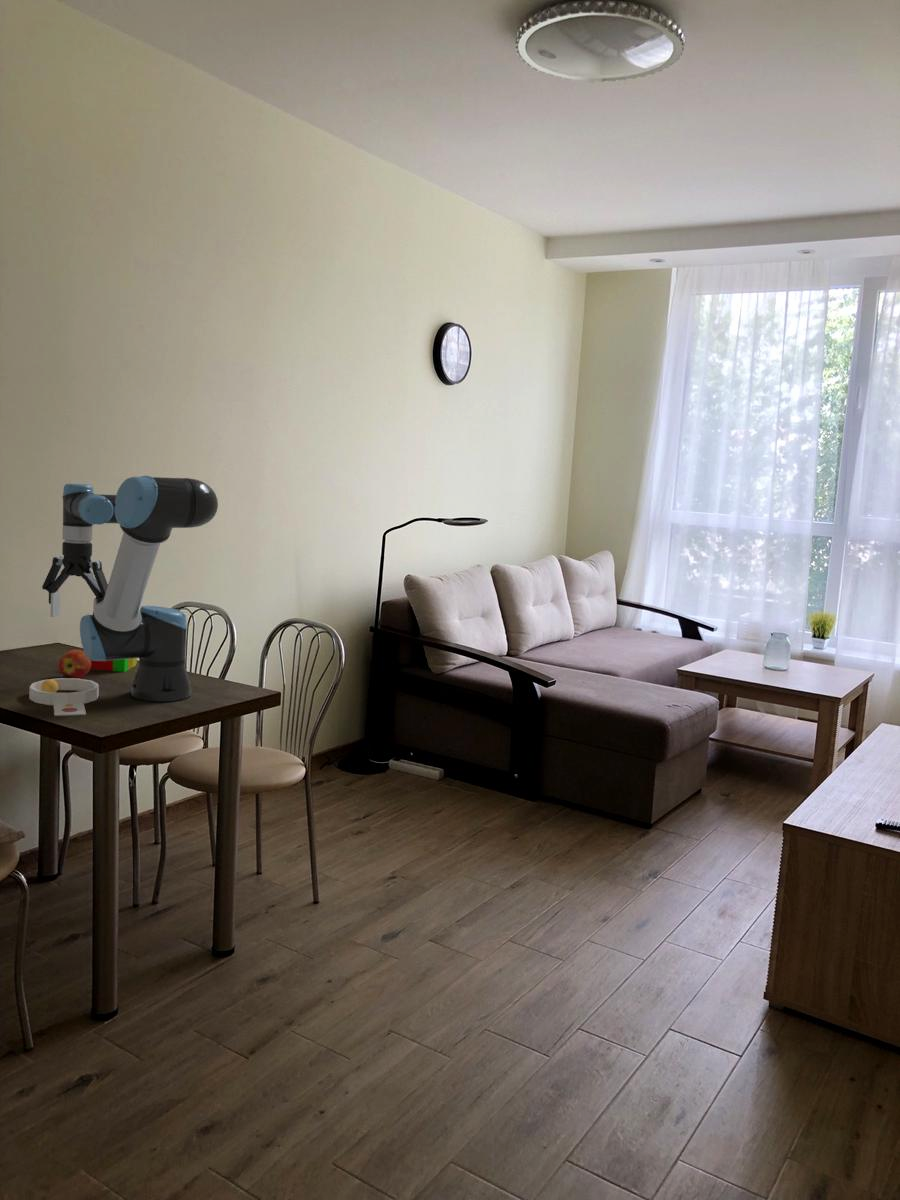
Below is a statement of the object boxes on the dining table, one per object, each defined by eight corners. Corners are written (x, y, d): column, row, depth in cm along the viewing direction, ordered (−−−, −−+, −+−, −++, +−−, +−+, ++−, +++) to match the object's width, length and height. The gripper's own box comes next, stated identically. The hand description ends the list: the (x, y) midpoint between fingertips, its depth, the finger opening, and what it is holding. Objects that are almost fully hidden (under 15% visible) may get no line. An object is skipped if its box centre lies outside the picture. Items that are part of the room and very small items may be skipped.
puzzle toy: (103, 662, 296) (103, 629, 294) (136, 664, 295) (137, 631, 294) (89, 669, 286) (90, 635, 284) (124, 672, 286) (125, 637, 284)
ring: (110, 694, 260) (111, 683, 259) (70, 708, 245) (70, 696, 244) (58, 686, 264) (59, 675, 264) (16, 699, 249) (16, 687, 249)
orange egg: (61, 694, 257) (61, 679, 257) (50, 697, 253) (51, 682, 253) (48, 692, 258) (48, 676, 258) (37, 695, 254) (37, 680, 254)
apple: (54, 680, 271) (54, 651, 270) (68, 673, 279) (68, 645, 278) (82, 682, 270) (83, 653, 269) (96, 676, 278) (96, 648, 277)
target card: (85, 714, 240) (85, 712, 240) (54, 715, 238) (54, 713, 238) (83, 704, 249) (83, 702, 249) (53, 704, 247) (53, 703, 247)
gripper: (125, 544, 269) (124, 622, 272) (47, 536, 276) (46, 612, 279) (108, 546, 262) (106, 626, 265) (28, 537, 269) (28, 615, 272)
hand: (76, 619), depth 272 cm, fingers open, 13 cm apart
